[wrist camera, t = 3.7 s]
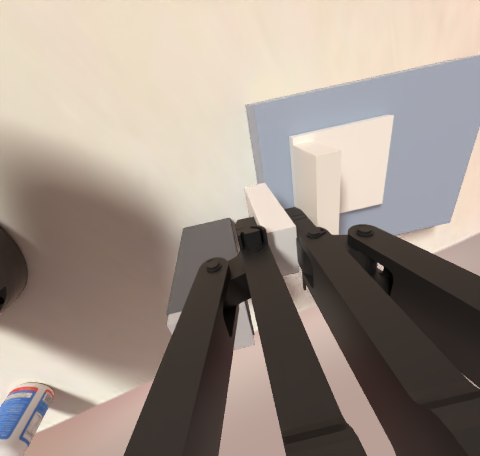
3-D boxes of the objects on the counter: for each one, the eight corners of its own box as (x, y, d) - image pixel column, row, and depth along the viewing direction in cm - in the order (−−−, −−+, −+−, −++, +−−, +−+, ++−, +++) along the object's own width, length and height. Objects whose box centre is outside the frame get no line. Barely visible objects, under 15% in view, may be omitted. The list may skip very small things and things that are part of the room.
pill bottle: (5, 394, 33) (-65, 494, 25) (25, 376, 32) (-42, 476, 23) (43, 405, 36) (-9, 500, 27) (63, 389, 34) (15, 483, 26)
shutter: (295, 218, 20) (317, 248, 16) (288, 136, 17) (315, 147, 13) (376, 200, 20) (419, 224, 16) (386, 114, 17) (444, 118, 13)
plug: (194, 258, 26) (184, 362, 15) (183, 228, 24) (164, 324, 13) (236, 248, 26) (256, 345, 16) (229, 217, 24) (246, 305, 14)
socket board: (266, 241, 26) (275, 262, 23) (245, 105, 19) (253, 105, 16) (417, 206, 26) (449, 222, 23) (450, 60, 19) (502, 50, 16)
